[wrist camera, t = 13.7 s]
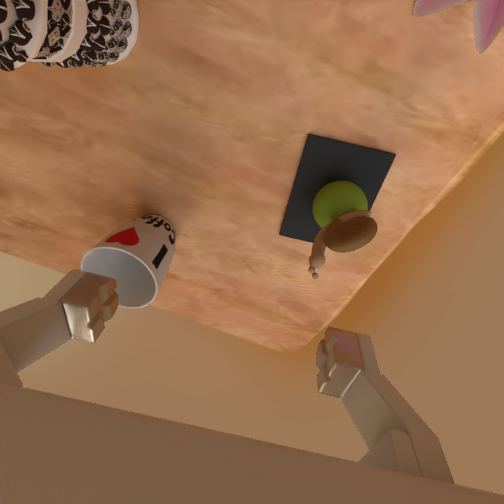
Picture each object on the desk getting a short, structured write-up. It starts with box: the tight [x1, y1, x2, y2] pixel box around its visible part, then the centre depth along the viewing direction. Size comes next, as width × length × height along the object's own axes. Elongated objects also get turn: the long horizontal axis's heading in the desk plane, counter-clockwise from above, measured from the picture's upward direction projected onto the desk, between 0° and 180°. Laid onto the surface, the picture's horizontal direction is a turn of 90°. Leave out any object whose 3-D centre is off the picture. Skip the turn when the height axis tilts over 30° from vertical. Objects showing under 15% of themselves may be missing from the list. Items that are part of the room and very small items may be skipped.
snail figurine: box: [308, 181, 377, 279], centre depth 28 cm, size 5×6×12 cm
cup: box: [81, 215, 176, 308], centre depth 34 cm, size 8×8×10 cm
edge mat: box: [279, 134, 396, 243], centre depth 33 cm, size 12×9×1 cm
